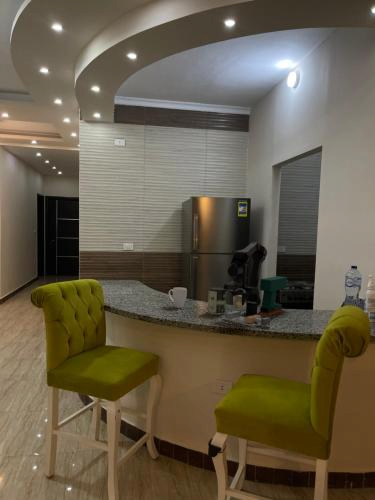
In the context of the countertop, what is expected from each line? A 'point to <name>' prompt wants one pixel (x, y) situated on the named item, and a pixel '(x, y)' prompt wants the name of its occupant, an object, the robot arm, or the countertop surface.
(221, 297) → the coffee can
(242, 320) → the vise base
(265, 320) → the sliding jaw
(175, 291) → the mug
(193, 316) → the countertop surface
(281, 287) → the power tool
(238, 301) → the maple block
